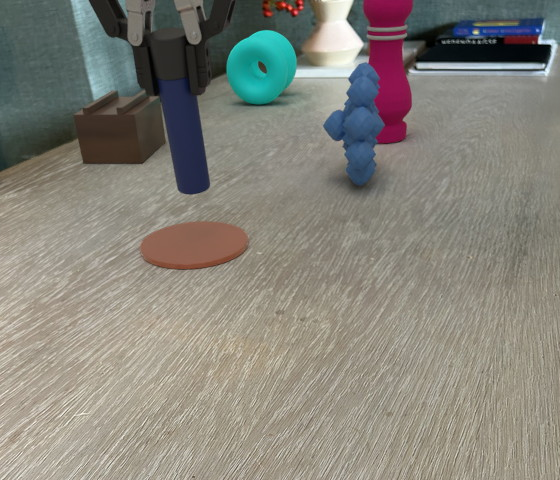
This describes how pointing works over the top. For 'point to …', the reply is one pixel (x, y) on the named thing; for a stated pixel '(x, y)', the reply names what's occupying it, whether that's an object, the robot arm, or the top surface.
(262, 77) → the donuts
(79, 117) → the block
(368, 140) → the grapes
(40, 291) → the top surface
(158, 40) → the marker
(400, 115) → the pepper mill
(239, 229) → the coaster
